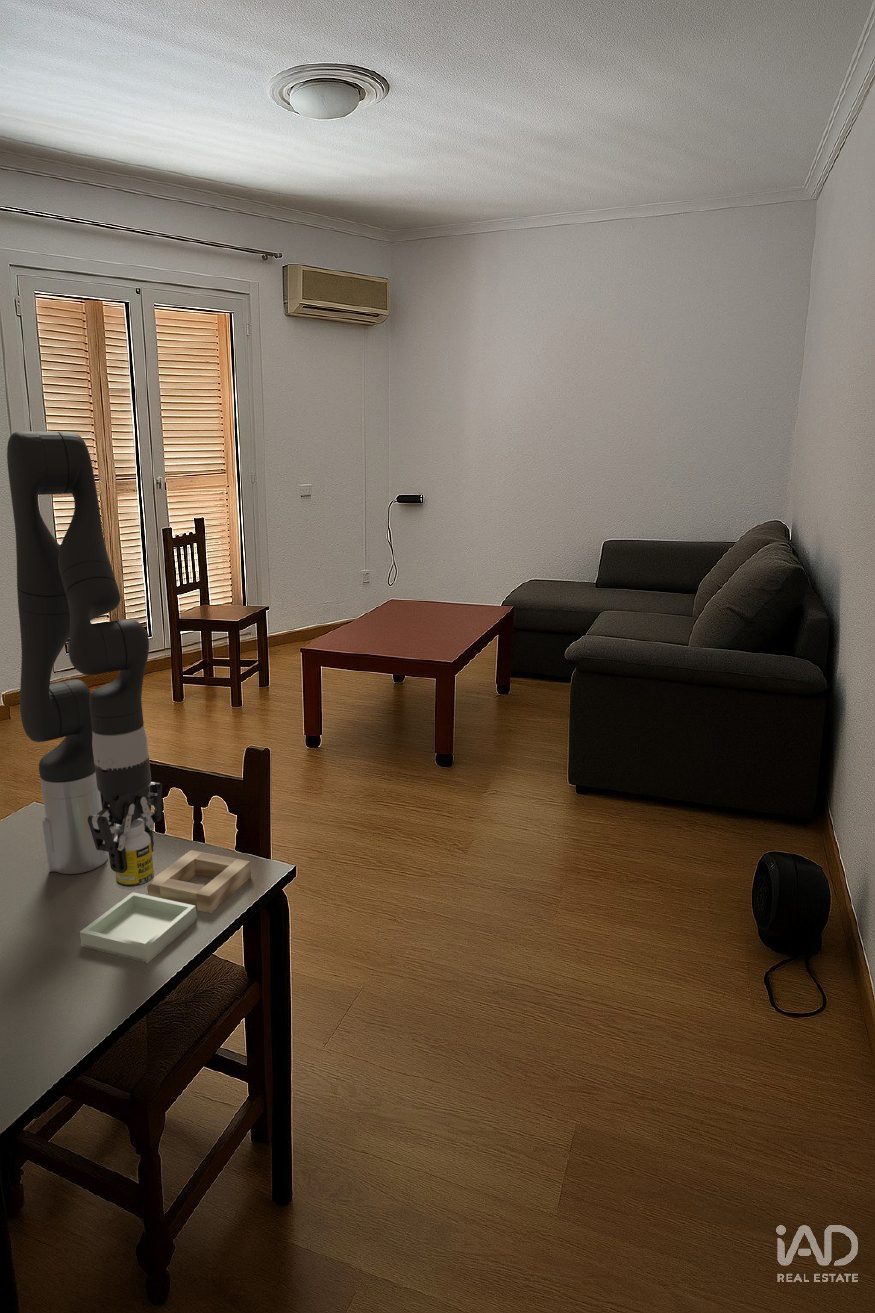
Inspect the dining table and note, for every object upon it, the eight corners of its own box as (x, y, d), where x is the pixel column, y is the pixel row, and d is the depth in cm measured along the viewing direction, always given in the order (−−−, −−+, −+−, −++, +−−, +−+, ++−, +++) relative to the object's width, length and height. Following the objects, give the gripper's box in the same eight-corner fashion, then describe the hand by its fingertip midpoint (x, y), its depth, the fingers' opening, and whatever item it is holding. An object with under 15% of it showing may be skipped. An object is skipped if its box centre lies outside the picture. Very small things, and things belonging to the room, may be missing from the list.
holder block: (210, 913, 140) (209, 896, 139) (148, 899, 144) (146, 883, 143) (251, 877, 151) (250, 861, 150) (192, 865, 155) (190, 850, 154)
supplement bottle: (143, 893, 129) (136, 832, 127) (109, 889, 130) (102, 829, 128) (161, 875, 134) (155, 816, 132) (129, 871, 136) (122, 813, 133)
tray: (147, 963, 127) (146, 948, 127) (81, 946, 131) (79, 932, 131) (196, 919, 138) (195, 905, 138) (134, 905, 142) (132, 892, 142)
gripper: (132, 737, 135) (143, 837, 139) (64, 771, 122) (79, 880, 126) (173, 742, 132) (183, 844, 137) (108, 778, 119) (121, 889, 124)
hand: (133, 861), depth 132 cm, fingers closed on supplement bottle, 5 cm apart
